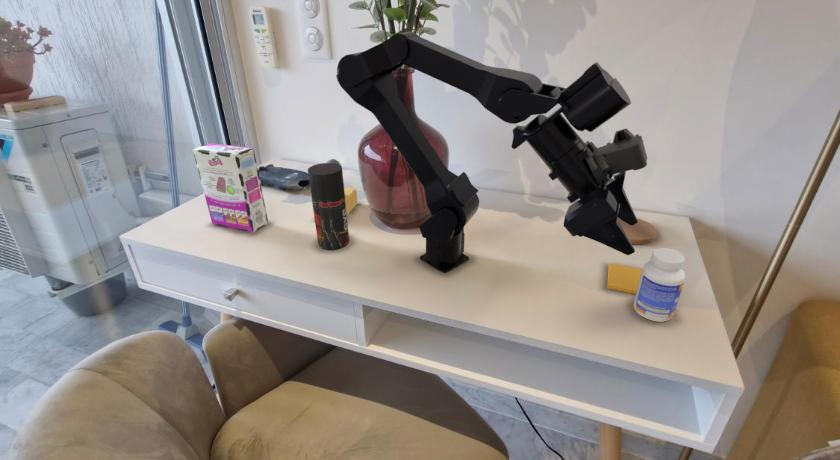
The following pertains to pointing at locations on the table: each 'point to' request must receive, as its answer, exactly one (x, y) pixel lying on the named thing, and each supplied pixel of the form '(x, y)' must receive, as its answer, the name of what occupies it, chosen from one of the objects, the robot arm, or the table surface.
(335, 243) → the deodorant
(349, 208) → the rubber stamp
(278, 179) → the electronic device
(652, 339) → the table surface
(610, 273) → the mustard cloth
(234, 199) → the candy bar box
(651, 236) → the cork trivet
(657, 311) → the pill bottle
